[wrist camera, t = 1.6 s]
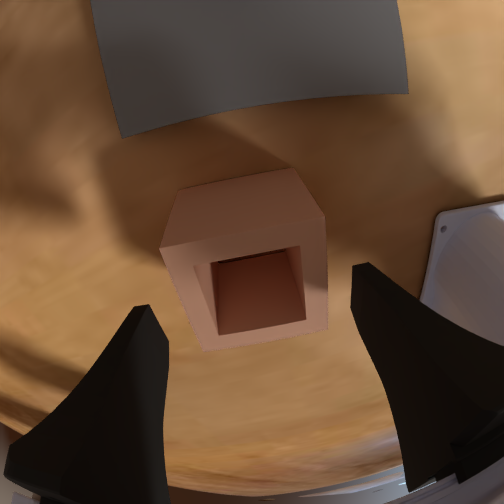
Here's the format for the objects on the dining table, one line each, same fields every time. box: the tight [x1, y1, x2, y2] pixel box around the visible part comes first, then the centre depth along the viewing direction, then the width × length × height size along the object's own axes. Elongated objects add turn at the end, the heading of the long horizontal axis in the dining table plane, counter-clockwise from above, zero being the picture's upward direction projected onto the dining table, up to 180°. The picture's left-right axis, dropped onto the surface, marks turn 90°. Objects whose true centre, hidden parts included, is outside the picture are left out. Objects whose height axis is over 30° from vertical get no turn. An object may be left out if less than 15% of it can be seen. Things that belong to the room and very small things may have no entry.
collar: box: [159, 168, 328, 352], centre depth 13 cm, size 5×5×5 cm
